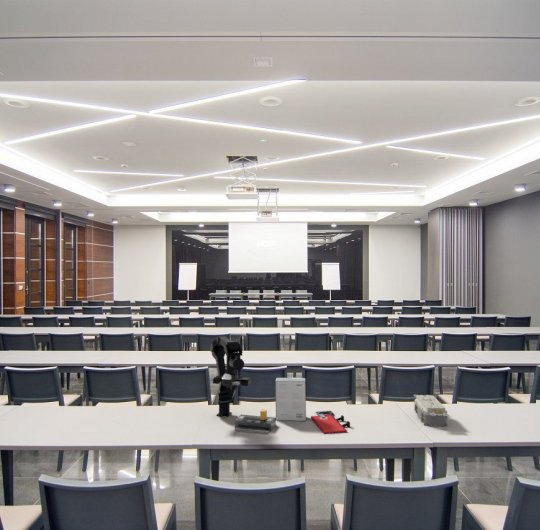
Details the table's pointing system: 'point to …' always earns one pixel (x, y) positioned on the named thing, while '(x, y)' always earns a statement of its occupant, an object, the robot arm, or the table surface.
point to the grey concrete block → (430, 410)
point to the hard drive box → (290, 399)
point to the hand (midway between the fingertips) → (231, 398)
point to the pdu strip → (255, 422)
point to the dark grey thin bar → (251, 430)
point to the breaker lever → (263, 414)
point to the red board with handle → (329, 422)
